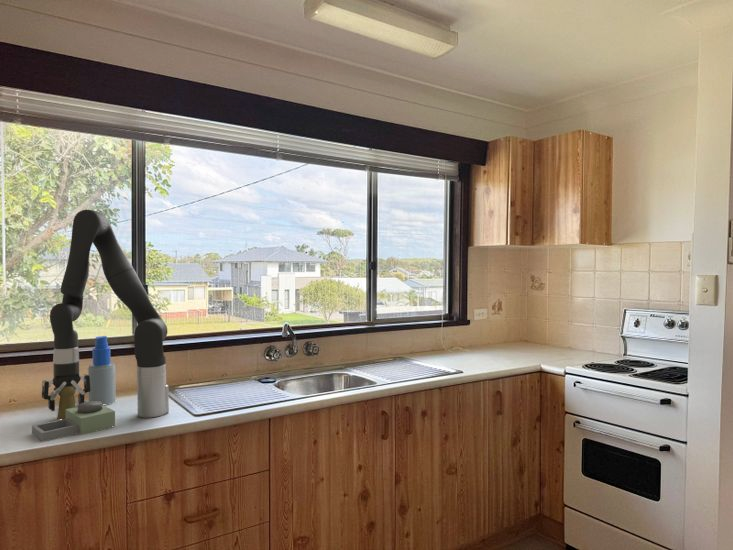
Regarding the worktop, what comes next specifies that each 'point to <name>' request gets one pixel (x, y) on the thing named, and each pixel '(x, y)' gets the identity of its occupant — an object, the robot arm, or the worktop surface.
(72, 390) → the olive brown upright piece
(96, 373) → the spray bottle
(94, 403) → the stepped tray with pebble
